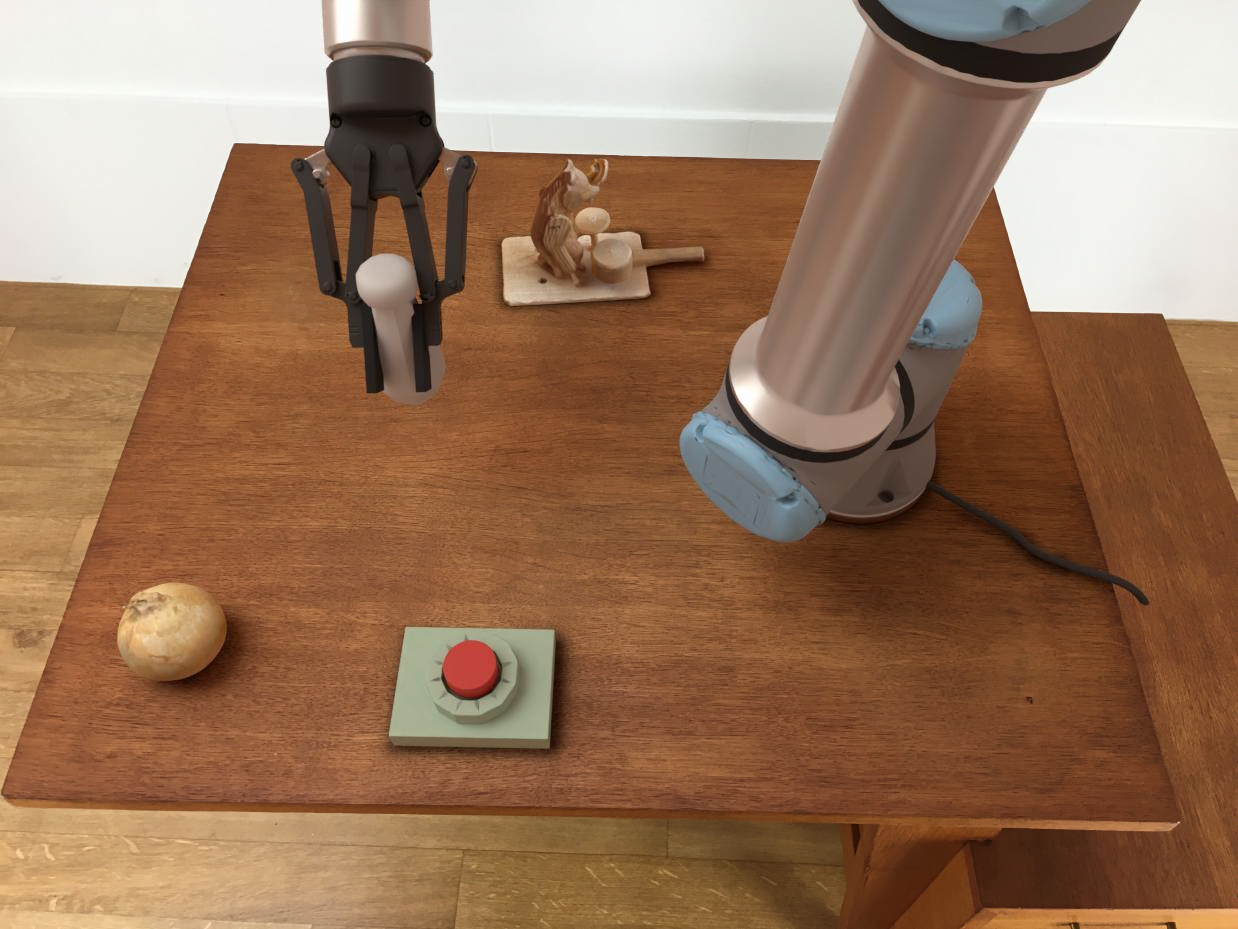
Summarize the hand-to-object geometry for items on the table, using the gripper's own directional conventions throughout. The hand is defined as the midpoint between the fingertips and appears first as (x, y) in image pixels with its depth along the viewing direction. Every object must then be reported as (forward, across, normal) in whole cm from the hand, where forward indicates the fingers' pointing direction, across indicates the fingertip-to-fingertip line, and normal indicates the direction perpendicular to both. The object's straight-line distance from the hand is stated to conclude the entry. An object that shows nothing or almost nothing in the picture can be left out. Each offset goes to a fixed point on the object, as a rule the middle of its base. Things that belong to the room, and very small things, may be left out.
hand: (399, 390), depth 73 cm
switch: (+22, -5, +3) cm, 22 cm away
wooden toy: (-10, -16, -33) cm, 38 cm away
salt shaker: (0, 0, -6) cm, 6 cm away
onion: (+21, +19, -3) cm, 28 cm away
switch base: (+24, -5, 0) cm, 25 cm away
